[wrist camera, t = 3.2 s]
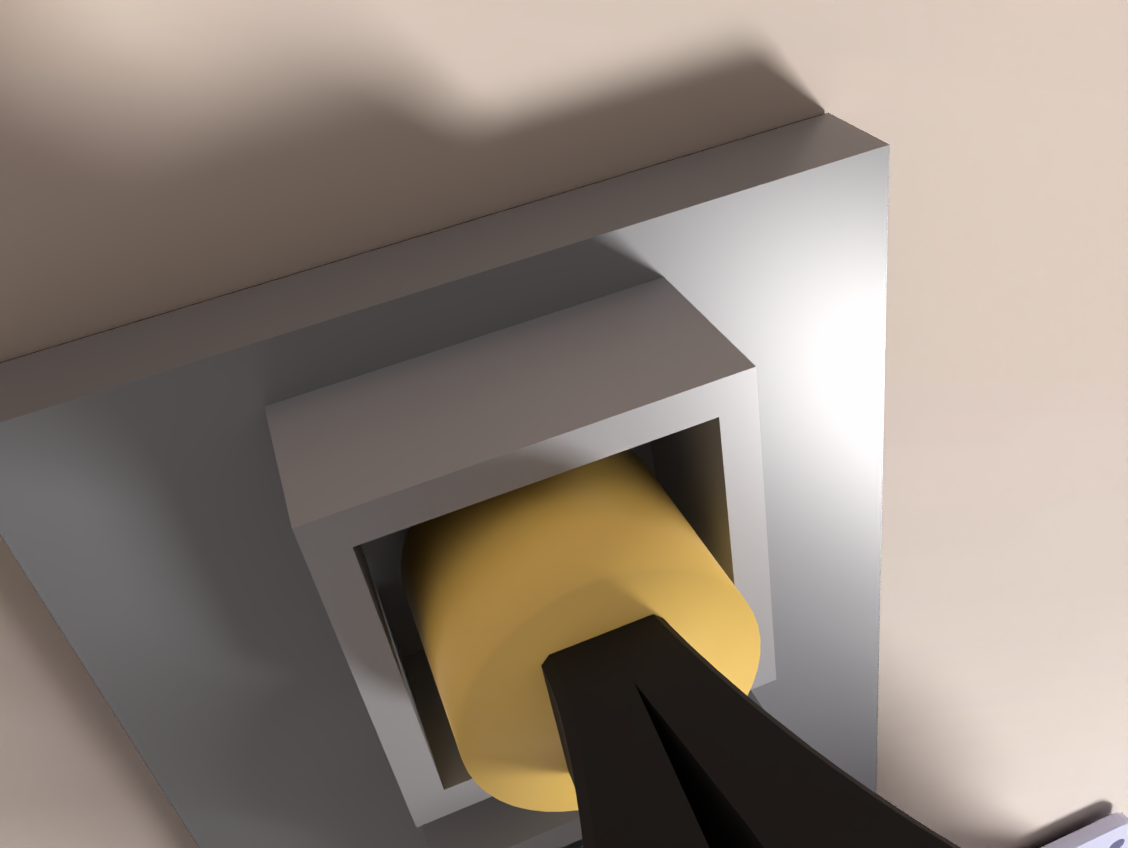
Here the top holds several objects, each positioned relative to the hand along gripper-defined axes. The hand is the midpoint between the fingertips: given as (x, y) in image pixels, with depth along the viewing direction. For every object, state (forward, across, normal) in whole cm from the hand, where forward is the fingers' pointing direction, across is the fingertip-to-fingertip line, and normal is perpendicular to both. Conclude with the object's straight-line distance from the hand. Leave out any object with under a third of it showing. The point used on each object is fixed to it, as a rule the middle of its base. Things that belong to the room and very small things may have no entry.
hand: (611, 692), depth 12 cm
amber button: (+3, 0, 0) cm, 3 cm away
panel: (+5, 0, +6) cm, 8 cm away
